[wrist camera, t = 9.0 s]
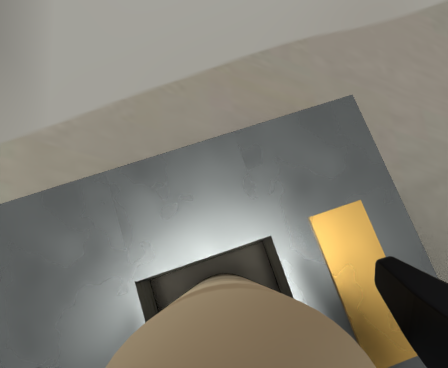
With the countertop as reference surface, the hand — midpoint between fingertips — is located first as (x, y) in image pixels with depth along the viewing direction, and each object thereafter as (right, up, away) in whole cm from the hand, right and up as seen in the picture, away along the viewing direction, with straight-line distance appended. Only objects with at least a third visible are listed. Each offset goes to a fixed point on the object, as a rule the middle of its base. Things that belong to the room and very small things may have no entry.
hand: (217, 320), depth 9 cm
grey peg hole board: (0, -3, +8) cm, 8 cm away
